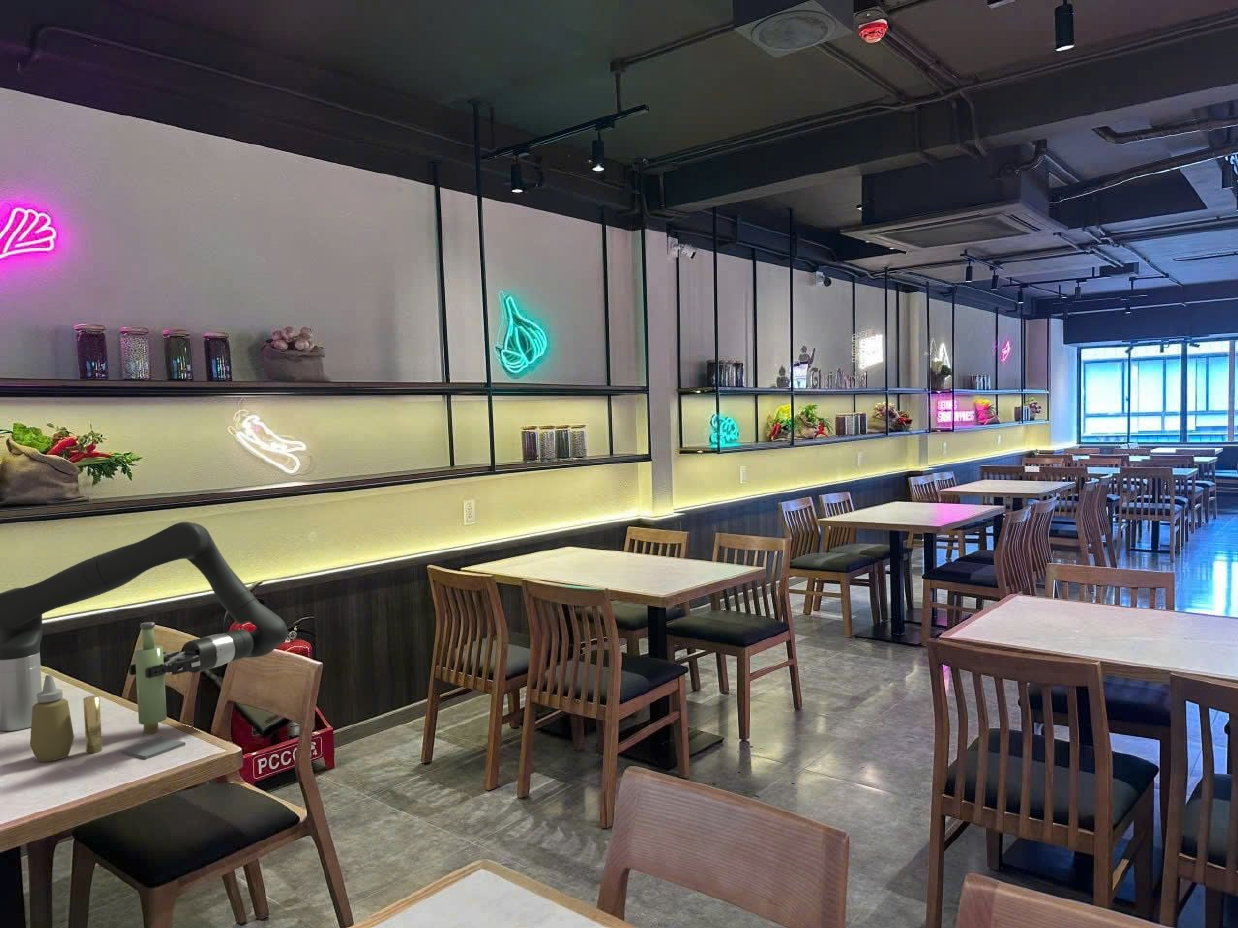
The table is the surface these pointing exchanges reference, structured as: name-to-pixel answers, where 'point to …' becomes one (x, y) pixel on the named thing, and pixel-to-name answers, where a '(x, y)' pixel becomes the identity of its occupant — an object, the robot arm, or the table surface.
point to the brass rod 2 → (151, 728)
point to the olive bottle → (150, 679)
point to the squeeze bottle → (51, 724)
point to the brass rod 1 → (92, 724)
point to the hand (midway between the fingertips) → (138, 671)
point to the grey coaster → (153, 747)
